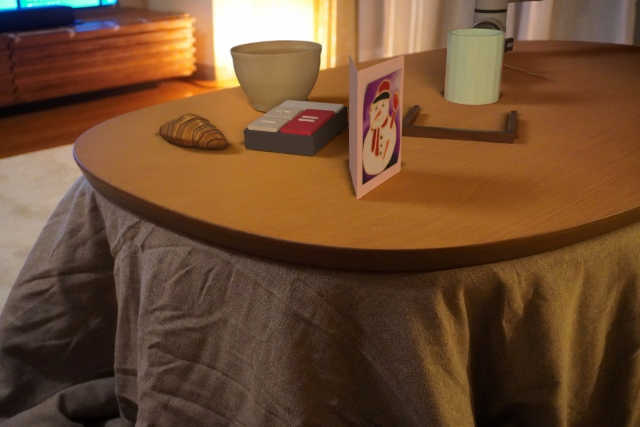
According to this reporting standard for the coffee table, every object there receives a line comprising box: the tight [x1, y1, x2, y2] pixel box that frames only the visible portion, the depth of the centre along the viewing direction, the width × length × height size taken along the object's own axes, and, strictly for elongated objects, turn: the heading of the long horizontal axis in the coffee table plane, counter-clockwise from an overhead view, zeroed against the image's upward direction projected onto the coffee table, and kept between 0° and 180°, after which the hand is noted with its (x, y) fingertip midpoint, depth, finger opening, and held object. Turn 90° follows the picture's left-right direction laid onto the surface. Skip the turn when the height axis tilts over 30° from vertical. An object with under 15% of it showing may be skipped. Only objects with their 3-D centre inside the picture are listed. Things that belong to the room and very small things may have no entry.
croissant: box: [158, 112, 228, 151], centre depth 92 cm, size 14×7×5 cm, turn 54°
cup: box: [443, 28, 507, 106], centre depth 114 cm, size 10×10×12 cm
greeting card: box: [348, 52, 405, 201], centre depth 75 cm, size 11×7×15 cm, turn 147°
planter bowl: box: [229, 39, 323, 113], centre depth 111 cm, size 16×16×11 cm
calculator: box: [243, 100, 349, 157], centre depth 95 cm, size 11×4×15 cm
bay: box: [402, 104, 518, 144], centre depth 99 cm, size 14×17×2 cm
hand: (475, 56), depth 118 cm, fingers closed
